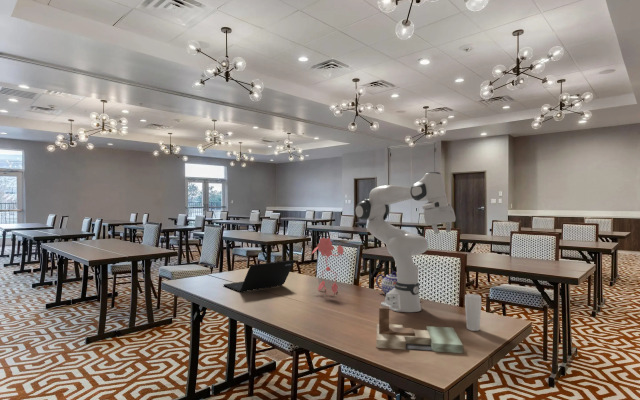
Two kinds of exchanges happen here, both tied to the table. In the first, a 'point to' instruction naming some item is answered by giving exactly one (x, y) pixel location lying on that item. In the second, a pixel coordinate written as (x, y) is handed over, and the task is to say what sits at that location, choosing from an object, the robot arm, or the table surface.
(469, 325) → the drinking glass
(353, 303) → the table surface
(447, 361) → the table surface
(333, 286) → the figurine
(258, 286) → the laptop
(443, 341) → the board
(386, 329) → the push block
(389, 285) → the teapot
